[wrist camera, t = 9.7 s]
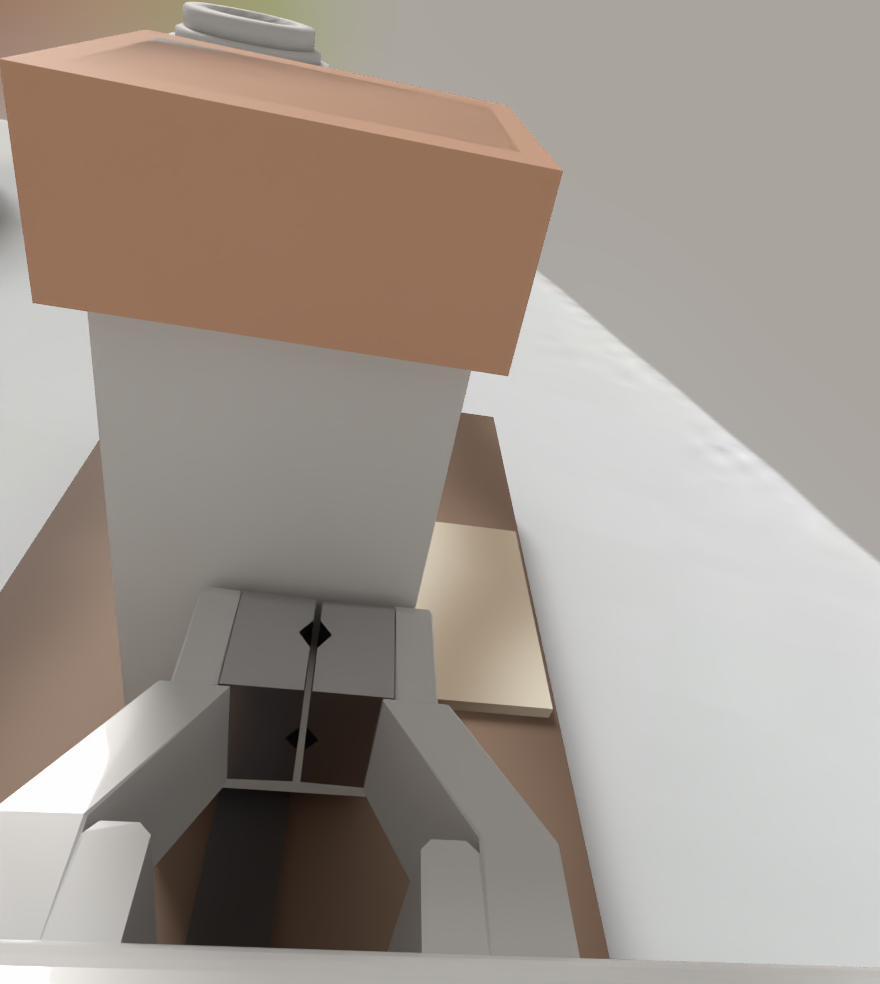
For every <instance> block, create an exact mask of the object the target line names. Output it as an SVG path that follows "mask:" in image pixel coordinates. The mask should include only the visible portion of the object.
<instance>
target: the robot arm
mask: <svg viewBox="0 0 880 984" xmlns="http://www.w3.org/2000/svg"><path fill="white" fill-rule="evenodd" d="M315 607H316V600H314V599H306V598H299V597H291V596H283V595H275V594H267V593H259V592H252V591H236V590H229V589H221V588H214V587H207V586H205V587H204V588H203V590H202V591H201V593H200V594H199V597H198V600H197V603H196V606H195V609H194V612H193V615H192V618H191V621H190V624H189V627H188V631H187V634H186V637H185V640H184V643H183V646H182V649H181V652H180V655H179V658H178V661H177V664H176V667H175V670H174V673H173V676H172V679H171V681H163V680H159V681H157V682H156V683H155V684H154V685H152V686H151V687H150V688H148V689H147V690H146V691H145V692H143V693H142V694H141V695H139V696H138V697H137V698H136V699H134V700H133V701H132V702H130V703H129V704H128V705H127V706H125V707H124V708H123V709H121V710H120V711H119V712H118V713H116V714H115V715H114V716H112V717H111V718H110V719H109V720H107V721H106V722H105V723H103V724H102V725H101V726H100V727H98V728H97V729H96V730H94V731H93V732H92V733H91V734H89V735H88V736H87V737H85V738H84V739H83V740H82V741H80V742H79V743H78V744H76V745H75V746H74V747H73V748H71V749H70V750H69V751H67V752H66V753H65V754H64V755H62V756H61V757H60V758H58V759H57V760H56V761H55V762H53V763H52V764H51V765H49V766H48V767H47V768H46V769H44V770H43V771H42V772H40V773H39V774H38V775H37V776H35V777H34V778H33V779H31V780H30V781H29V782H28V783H26V784H25V785H24V786H22V787H21V788H20V789H19V790H17V791H16V792H15V793H13V794H12V795H11V796H10V797H8V798H7V799H6V800H4V801H3V802H2V803H1V804H0V984H880V968H869V967H838V966H808V965H777V964H747V963H717V962H686V961H656V960H625V959H595V958H580V955H579V950H578V945H577V940H576V934H575V929H574V924H573V918H572V913H571V908H570V902H569V897H568V892H567V886H566V881H565V876H564V871H563V865H562V860H561V855H560V849H559V844H558V843H557V841H556V840H555V839H554V838H553V836H552V835H551V834H550V833H549V831H548V830H547V829H546V828H545V826H544V825H543V824H542V822H541V821H540V820H539V819H538V817H537V816H536V815H535V814H534V812H533V811H532V810H531V809H530V807H529V806H528V805H527V803H526V802H525V801H524V800H523V798H522V797H521V796H520V795H519V793H518V792H517V791H516V790H515V788H514V787H513V786H512V784H511V783H510V782H509V781H508V779H507V778H506V777H505V776H504V774H503V773H502V772H501V771H500V769H499V768H498V767H497V765H496V764H495V763H494V762H493V760H492V759H491V758H490V757H489V755H488V754H487V753H486V752H485V750H484V749H483V748H482V747H481V745H480V744H479V743H478V741H477V740H476V739H475V738H474V736H473V735H472V734H471V733H470V731H469V730H468V729H467V728H466V726H465V725H464V724H463V722H462V721H461V720H460V719H459V717H458V716H457V715H456V714H455V712H454V711H453V710H452V709H451V707H450V706H449V705H445V704H438V698H437V682H436V665H435V649H434V632H433V616H432V613H431V612H430V610H427V609H416V608H405V607H394V608H393V607H391V606H380V605H370V604H359V603H349V602H338V601H328V600H323V604H322V611H321V618H320V626H319V633H318V641H317V648H316V655H315V663H314V671H313V678H312V686H311V695H310V703H309V711H308V720H307V728H306V736H305V744H304V753H303V762H302V771H301V780H300V782H306V783H317V784H328V785H339V786H349V787H360V788H364V789H363V792H364V794H365V796H366V797H367V799H368V801H369V803H370V805H371V807H372V809H373V811H374V813H375V815H376V817H377V819H378V820H379V822H380V824H381V826H382V828H383V830H384V832H385V834H386V836H387V838H388V840H389V842H390V843H391V845H392V847H393V849H394V851H395V853H396V855H397V857H398V859H399V861H400V863H401V865H402V866H403V868H404V870H405V872H406V874H407V876H408V878H409V880H410V884H409V887H408V890H407V893H406V896H405V899H404V902H403V905H402V908H401V911H400V914H399V917H398V920H397V923H396V926H395V929H394V932H393V935H392V938H391V941H390V944H389V947H388V950H387V952H382V951H352V950H322V949H292V948H262V947H232V946H200V945H169V944H157V929H156V912H155V896H154V879H153V868H154V866H155V865H156V864H157V863H158V862H159V861H160V859H161V858H162V857H163V856H164V855H165V854H166V852H167V851H168V850H169V849H170V848H171V847H172V846H173V844H174V843H175V842H176V841H177V840H178V839H179V837H180V836H181V835H182V834H183V833H184V832H185V830H186V829H187V828H188V827H189V826H190V825H191V823H192V822H193V821H194V820H195V819H196V818H197V816H198V815H199V814H200V813H201V812H202V811H203V810H204V808H205V807H206V806H207V805H208V804H209V803H210V801H211V800H212V799H213V798H214V797H215V796H216V794H217V793H218V792H219V791H220V790H221V789H222V787H223V786H224V785H225V784H226V780H227V779H245V780H270V781H293V774H294V767H295V760H296V752H297V745H298V738H299V731H300V724H301V716H302V709H303V701H304V693H305V686H306V679H307V671H308V663H309V656H310V647H311V639H312V631H313V623H314V615H315Z"/></svg>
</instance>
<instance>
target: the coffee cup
mask: <svg viewBox="0 0 880 984" xmlns="http://www.w3.org/2000/svg"><path fill="white" fill-rule="evenodd" d="M170 35H174V36H179V37H184V38H189V39H193V40H198V41H203V42H208V43H212V44H217V45H222V46H227V47H231V48H236V49H241V50H246V51H250V52H255V53H260V54H265V55H269V56H274V57H279V58H284V59H288V60H293V61H298V62H303V63H307V64H312V65H317V66H322V67H326V68H330V66H329V65H328V64H327V63H325V62H323V61H321V53H320V52H319V51H318V50H315V49H314V44H315V31H314V29H313V28H312V27H310V26H307V25H305V24H302V23H298V22H295V21H291V20H288V19H283V18H280V17H275V16H271V15H267V14H262V13H257V12H253V11H248V10H244V9H238V8H233V7H227V6H222V5H215V4H209V3H201V2H186V3H185V4H184V5H183V23H181V24H178V25H176V27H175V32H173V33H170Z"/></svg>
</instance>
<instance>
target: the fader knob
mask: <svg viewBox="0 0 880 984" xmlns="http://www.w3.org/2000/svg"><path fill="white" fill-rule="evenodd" d="M0 69H1V76H2V83H3V90H4V97H5V105H6V113H7V120H8V127H9V134H10V141H11V149H12V156H13V163H14V170H15V178H16V185H17V192H18V199H19V206H20V214H21V221H22V228H23V235H24V243H25V250H26V257H27V264H28V272H29V279H30V286H31V293H32V300H33V303H37V304H43V305H50V306H56V307H63V308H69V309H76V310H82V311H88V322H89V332H90V343H91V354H92V364H93V375H94V385H95V396H96V407H97V417H98V428H99V439H100V449H101V460H102V470H103V481H104V492H105V502H106V513H107V524H108V534H109V545H110V555H111V566H112V577H113V587H114V598H115V609H116V619H117V630H118V640H119V651H120V662H121V672H122V683H123V694H124V704H125V706H127V705H128V704H129V703H130V702H132V701H133V700H134V699H136V698H137V697H138V696H139V695H141V694H142V693H143V692H145V691H146V690H147V689H148V688H150V687H151V686H152V685H154V684H155V683H156V682H157V681H159V680H163V681H171V679H172V676H173V673H174V670H175V667H176V664H177V661H178V658H179V655H180V652H181V649H182V646H183V643H184V640H185V637H186V634H187V631H188V627H189V624H190V621H191V618H192V615H193V612H194V609H195V606H196V603H197V600H198V597H199V594H200V593H201V591H202V590H203V588H204V587H205V586H207V587H214V588H221V589H229V590H236V591H252V592H259V593H267V594H275V595H283V596H291V597H299V598H306V599H314V600H316V607H315V615H314V623H313V631H312V639H311V647H310V656H309V663H308V671H307V679H306V686H305V693H304V701H303V709H302V716H301V724H300V731H299V738H298V745H297V752H296V760H295V767H294V774H293V781H270V780H245V779H227V780H226V784H225V785H224V786H223V787H222V788H238V789H253V790H269V791H284V792H300V793H315V794H331V795H346V796H362V797H366V796H365V794H364V792H363V789H364V788H360V787H349V786H339V785H328V784H317V783H306V782H300V780H301V771H302V762H303V753H304V744H305V736H306V728H307V720H308V711H309V703H310V695H311V686H312V678H313V671H314V663H315V655H316V648H317V641H318V633H319V626H320V618H321V611H322V604H323V600H328V601H338V602H349V603H359V604H370V605H380V606H391V607H393V608H394V607H405V608H415V607H416V603H417V599H418V594H419V590H420V586H421V582H422V577H423V573H424V569H425V564H426V560H427V556H428V552H429V547H430V543H431V539H432V535H433V530H434V526H435V522H436V517H437V513H438V509H439V505H440V500H441V496H442V492H443V488H444V483H445V479H446V475H447V470H448V466H449V462H450V458H451V453H452V449H453V445H454V441H455V436H456V432H457V428H458V423H459V419H460V415H461V411H462V406H463V402H464V398H465V394H466V389H467V385H468V381H469V376H470V372H471V371H478V372H484V373H491V374H497V375H504V376H508V374H509V370H510V367H511V363H512V359H513V355H514V352H515V348H516V344H517V340H518V337H519V333H520V329H521V326H522V322H523V318H524V314H525V311H526V307H527V303H528V299H529V296H530V292H531V288H532V284H533V281H534V277H535V273H536V269H537V265H538V262H539V258H540V254H541V250H542V247H543V243H544V240H545V236H546V232H547V228H548V224H549V221H550V217H551V213H552V210H553V206H554V202H555V198H556V195H557V190H558V187H559V184H560V179H561V176H562V172H563V171H562V169H561V168H560V167H559V166H558V165H557V164H556V162H555V161H554V160H553V159H552V158H551V157H550V155H549V154H548V153H547V152H546V151H545V149H544V148H543V147H542V146H541V145H540V144H539V143H538V141H537V140H536V139H535V138H534V137H533V135H531V133H530V132H529V131H528V130H527V128H526V127H525V126H524V125H523V124H522V123H521V121H520V120H519V119H518V118H517V117H516V115H515V114H514V113H513V112H512V111H511V110H510V109H509V107H508V106H507V105H502V104H497V103H492V102H488V101H483V100H478V99H474V98H469V97H464V96H459V95H455V94H450V93H445V92H440V91H436V90H431V89H426V88H421V87H417V86H412V85H407V84H402V83H398V82H393V81H388V80H383V79H379V78H374V77H369V76H364V75H360V74H355V73H350V72H345V71H341V70H336V69H331V68H326V67H322V66H317V65H312V64H307V63H303V62H298V61H293V60H288V59H284V58H279V57H274V56H269V55H265V54H260V53H255V52H250V51H246V50H241V49H236V48H231V47H227V46H222V45H217V44H212V43H208V42H203V41H198V40H193V39H189V38H184V37H179V36H174V35H170V34H165V33H160V32H155V31H151V30H141V31H136V32H131V33H126V34H121V35H116V36H111V37H106V38H101V39H96V40H90V41H85V42H81V43H75V44H70V45H65V46H61V47H55V48H50V49H46V50H40V51H35V52H30V53H25V54H20V55H15V56H10V57H5V58H0Z"/></svg>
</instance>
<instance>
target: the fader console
mask: <svg viewBox="0 0 880 984" xmlns="http://www.w3.org/2000/svg"><path fill="white" fill-rule="evenodd" d="M415 608H416V609H427V610H430V612H431V613H432V616H433V632H434V649H435V665H436V682H437V698H438V704H445V705H449V706H450V707H451V709H452V710H453V711H454V712H455V714H456V715H457V716H458V717H459V719H460V720H461V721H462V722H463V724H464V725H465V726H466V728H467V729H468V730H469V731H470V733H471V734H472V735H473V736H474V738H475V739H476V740H477V741H478V743H479V744H480V745H481V747H482V748H483V749H484V750H485V752H486V753H487V754H488V755H489V757H490V758H491V759H492V760H493V762H494V763H495V764H496V765H497V767H498V768H499V769H500V771H501V772H502V773H503V774H504V776H505V777H506V778H507V779H508V781H509V782H510V783H511V784H512V786H513V787H514V788H515V790H516V791H517V792H518V793H519V795H520V796H521V797H522V798H523V800H524V801H525V802H526V803H527V805H528V806H529V807H530V809H531V810H532V811H533V812H534V814H535V815H536V816H537V817H538V819H539V820H540V821H541V822H542V824H543V825H544V826H545V828H546V829H547V830H548V831H549V833H550V834H551V835H552V836H553V838H554V839H555V840H556V841H557V843H558V844H559V849H560V855H561V860H562V865H563V871H564V876H565V881H566V886H567V892H568V897H569V902H570V908H571V913H572V918H573V924H574V929H575V934H576V940H577V945H578V950H579V955H580V958H595V959H609V954H608V950H607V945H606V940H605V936H604V931H603V926H602V922H601V917H600V912H599V908H598V903H597V898H596V894H595V889H594V884H593V880H592V875H591V870H590V866H589V861H588V856H587V852H586V847H585V842H584V838H583V833H582V828H581V824H580V819H579V814H578V810H577V805H576V800H575V796H574V791H573V786H572V782H571V777H570V772H569V768H568V763H567V758H566V754H565V749H564V745H563V740H562V735H561V731H560V726H559V721H558V717H557V712H556V707H555V703H554V698H553V693H552V689H551V684H550V679H549V675H548V670H547V665H546V661H545V656H544V651H543V647H542V642H541V637H540V633H539V628H538V623H537V619H536V614H535V609H534V605H533V600H532V595H531V591H530V586H529V581H528V577H527V572H526V567H525V563H524V558H523V553H522V549H521V544H520V539H519V535H518V530H517V525H516V521H515V516H514V512H513V507H512V502H511V498H510V493H509V488H508V484H507V479H506V474H505V470H504V465H503V460H502V456H501V451H500V446H499V442H498V437H497V432H496V428H495V423H494V418H493V417H488V416H481V415H474V414H467V413H461V415H460V419H459V423H458V428H457V432H456V436H455V441H454V445H453V449H452V453H451V458H450V462H449V466H448V470H447V475H446V479H445V483H444V488H443V492H442V496H441V500H440V505H439V509H438V513H437V517H436V522H435V526H434V530H433V535H432V539H431V543H430V547H429V552H428V556H427V560H426V564H425V569H424V573H423V577H422V582H421V586H420V590H419V594H418V599H417V603H416V607H415ZM124 707H125V704H124V694H123V683H122V672H121V662H120V651H119V640H118V630H117V619H116V609H115V598H114V587H113V577H112V566H111V555H110V545H109V534H108V524H107V513H106V502H105V492H104V481H103V470H102V460H101V449H100V440H99V441H98V443H97V444H96V446H95V447H94V449H93V450H92V452H91V454H90V455H89V457H88V458H87V460H86V461H85V463H84V464H83V466H82V467H81V469H80V470H79V472H78V474H77V475H76V477H75V478H74V480H73V481H72V483H71V484H70V486H69V487H68V489H67V490H66V492H65V494H64V495H63V497H62V498H61V500H60V501H59V503H58V504H57V506H56V507H55V509H54V510H53V512H52V513H51V515H50V517H49V518H48V520H47V521H46V523H45V524H44V526H43V527H42V529H41V530H40V532H39V533H38V535H37V537H36V538H35V540H34V541H33V543H32V544H31V546H30V547H29V549H28V550H27V552H26V553H25V555H24V557H23V558H22V560H21V561H20V563H19V564H18V566H17V567H16V569H15V570H14V572H13V573H12V575H11V576H10V578H9V580H8V581H7V583H6V584H5V586H4V587H3V589H2V590H1V592H0V804H1V803H2V802H3V801H4V800H6V799H7V798H8V797H10V796H11V795H12V794H13V793H15V792H16V791H17V790H19V789H20V788H21V787H22V786H24V785H25V784H26V783H28V782H29V781H30V780H31V779H33V778H34V777H35V776H37V775H38V774H39V773H40V772H42V771H43V770H44V769H46V768H47V767H48V766H49V765H51V764H52V763H53V762H55V761H56V760H57V759H58V758H60V757H61V756H62V755H64V754H65V753H66V752H67V751H69V750H70V749H71V748H73V747H74V746H75V745H76V744H78V743H79V742H80V741H82V740H83V739H84V738H85V737H87V736H88V735H89V734H91V733H92V732H93V731H94V730H96V729H97V728H98V727H100V726H101V725H102V724H103V723H105V722H106V721H107V720H109V719H110V718H111V717H112V716H114V715H115V714H116V713H118V712H119V711H120V710H121V709H123V708H124ZM153 879H154V896H155V912H156V929H157V944H169V945H200V946H232V947H262V948H292V949H322V950H352V951H382V952H387V950H388V947H389V944H390V941H391V938H392V935H393V932H394V929H395V926H396V923H397V920H398V917H399V914H400V911H401V908H402V905H403V902H404V899H405V896H406V893H407V890H408V887H409V884H410V880H409V878H408V876H407V874H406V872H405V870H404V868H403V866H402V865H401V863H400V861H399V859H398V857H397V855H396V853H395V851H394V849H393V847H392V845H391V843H390V842H389V840H388V838H387V836H386V834H385V832H384V830H383V828H382V826H381V824H380V822H379V820H378V819H377V817H376V815H375V813H374V811H373V809H372V807H371V805H370V803H369V801H368V799H367V797H362V796H346V795H331V794H315V793H300V792H284V791H269V790H253V789H238V788H222V789H221V790H220V791H219V792H218V793H217V794H216V796H215V797H214V798H213V799H212V800H211V801H210V803H209V804H208V805H207V806H206V807H205V808H204V810H203V811H202V812H201V813H200V814H199V815H198V816H197V818H196V819H195V820H194V821H193V822H192V823H191V825H190V826H189V827H188V828H187V829H186V830H185V832H184V833H183V834H182V835H181V836H180V837H179V839H178V840H177V841H176V842H175V843H174V844H173V846H172V847H171V848H170V849H169V850H168V851H167V852H166V854H165V855H164V856H163V857H162V858H161V859H160V861H159V862H158V863H157V864H156V865H155V866H154V868H153Z"/></svg>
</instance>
